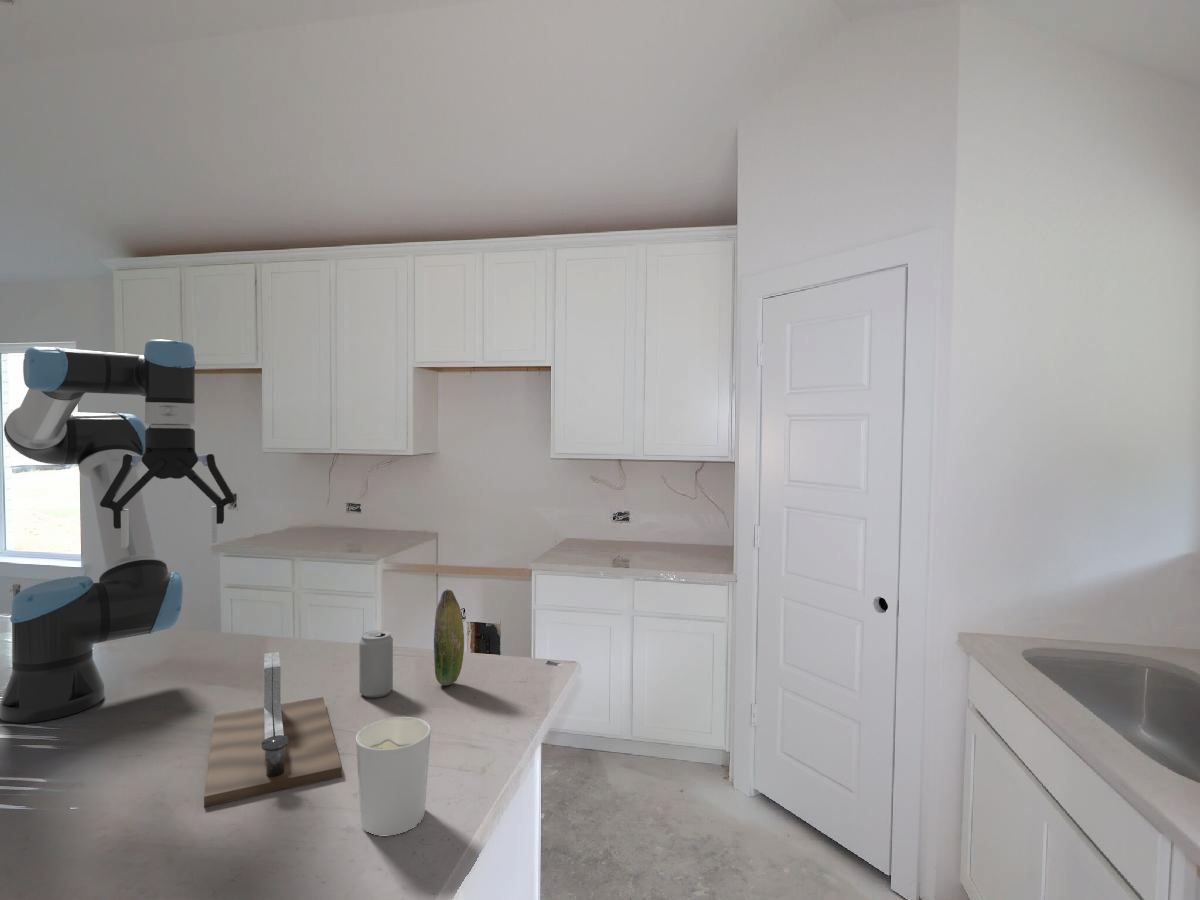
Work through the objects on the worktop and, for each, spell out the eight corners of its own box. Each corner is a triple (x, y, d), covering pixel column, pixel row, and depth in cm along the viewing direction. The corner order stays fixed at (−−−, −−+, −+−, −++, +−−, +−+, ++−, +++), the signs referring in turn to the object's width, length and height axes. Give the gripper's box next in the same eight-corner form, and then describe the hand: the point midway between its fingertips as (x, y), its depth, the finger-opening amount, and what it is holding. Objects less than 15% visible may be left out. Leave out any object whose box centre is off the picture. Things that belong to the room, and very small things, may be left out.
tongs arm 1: (273, 764, 99) (273, 699, 99) (265, 766, 99) (265, 701, 98) (271, 706, 120) (271, 652, 119) (264, 707, 119) (264, 653, 119)
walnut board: (214, 723, 117) (214, 715, 117) (323, 704, 125) (323, 697, 125) (204, 807, 91) (203, 796, 91) (341, 776, 100) (341, 766, 100)
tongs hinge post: (289, 775, 97) (289, 742, 97) (261, 781, 95) (261, 748, 95) (287, 764, 100) (287, 732, 100) (261, 770, 98) (261, 737, 98)
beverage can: (382, 700, 127) (382, 640, 127) (352, 697, 129) (352, 637, 128) (398, 688, 134) (398, 630, 133) (370, 685, 135) (370, 628, 135)
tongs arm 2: (284, 762, 100) (284, 697, 100) (275, 764, 99) (275, 699, 99) (278, 705, 120) (278, 651, 120) (271, 706, 120) (271, 652, 119)
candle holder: (366, 799, 94) (366, 717, 93) (435, 797, 94) (436, 715, 94) (345, 842, 84) (345, 750, 83) (423, 839, 85) (423, 748, 84)
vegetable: (467, 681, 138) (468, 587, 137) (458, 692, 132) (459, 594, 131) (439, 679, 139) (440, 586, 138) (429, 691, 132) (430, 593, 132)
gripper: (78, 425, 108) (79, 552, 109) (248, 428, 120) (249, 542, 121) (88, 425, 115) (89, 545, 116) (249, 428, 127) (249, 536, 127)
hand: (171, 544), depth 118 cm, fingers open, 13 cm apart
